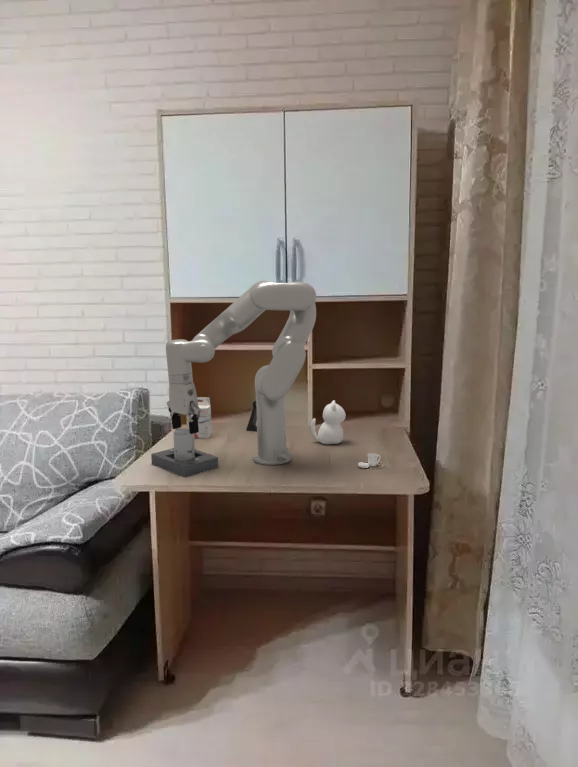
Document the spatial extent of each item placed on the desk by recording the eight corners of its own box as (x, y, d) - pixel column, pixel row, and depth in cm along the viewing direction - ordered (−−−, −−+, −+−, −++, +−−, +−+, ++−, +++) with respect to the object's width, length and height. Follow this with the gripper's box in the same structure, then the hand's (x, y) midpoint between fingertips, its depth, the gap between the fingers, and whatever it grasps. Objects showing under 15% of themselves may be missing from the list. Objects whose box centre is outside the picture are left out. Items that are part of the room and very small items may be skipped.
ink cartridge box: (186, 438, 253) (184, 399, 250) (190, 434, 258) (188, 396, 255) (209, 438, 253) (207, 399, 250) (212, 434, 257) (210, 396, 254)
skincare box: (174, 467, 219) (172, 431, 217) (177, 463, 224) (175, 428, 221) (193, 468, 219) (191, 431, 216) (196, 463, 223) (194, 428, 221)
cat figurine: (346, 446, 239) (346, 404, 236) (310, 446, 240) (310, 405, 237) (345, 439, 248) (345, 399, 245) (311, 439, 249) (310, 399, 246)
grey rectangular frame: (218, 467, 219) (217, 456, 218) (184, 477, 210) (184, 465, 209) (184, 455, 233) (184, 444, 232) (151, 464, 224) (151, 452, 223)
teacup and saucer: (358, 471, 214) (358, 458, 213) (356, 463, 222) (356, 451, 221) (386, 471, 214) (386, 458, 213) (384, 463, 221) (384, 451, 221)
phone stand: (246, 430, 262) (245, 400, 260) (251, 426, 268) (250, 397, 265) (268, 432, 260) (267, 401, 257) (273, 428, 265) (272, 398, 263)
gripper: (206, 379, 212) (210, 432, 215) (175, 373, 224) (179, 423, 228) (186, 383, 207) (191, 437, 210) (155, 377, 219) (160, 429, 223)
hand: (185, 430), depth 219 cm, fingers open, 9 cm apart
